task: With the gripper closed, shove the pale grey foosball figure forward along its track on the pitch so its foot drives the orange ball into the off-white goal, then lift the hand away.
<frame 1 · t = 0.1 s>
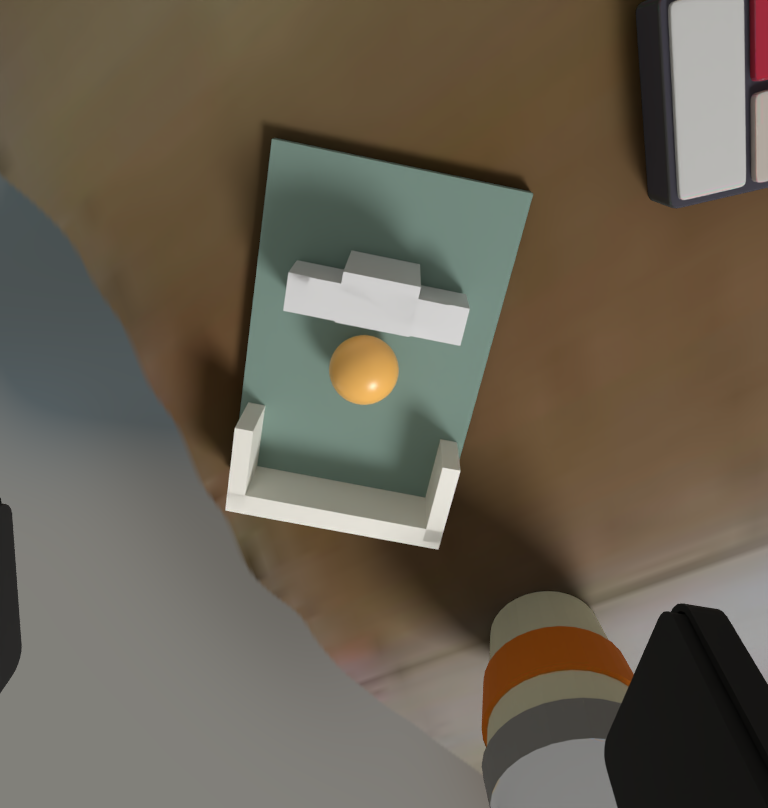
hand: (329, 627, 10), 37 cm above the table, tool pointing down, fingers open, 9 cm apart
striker: (378, 297, 41), point 4 cm above the table, slide at 0.0 cm
ball: (363, 370, 44), point 3 cm above the table, touching pitch
pitch: (368, 345, 47), on the table
reusable coffee cup: (543, 631, 57), on the table
goal: (346, 457, 51), resting on pitch
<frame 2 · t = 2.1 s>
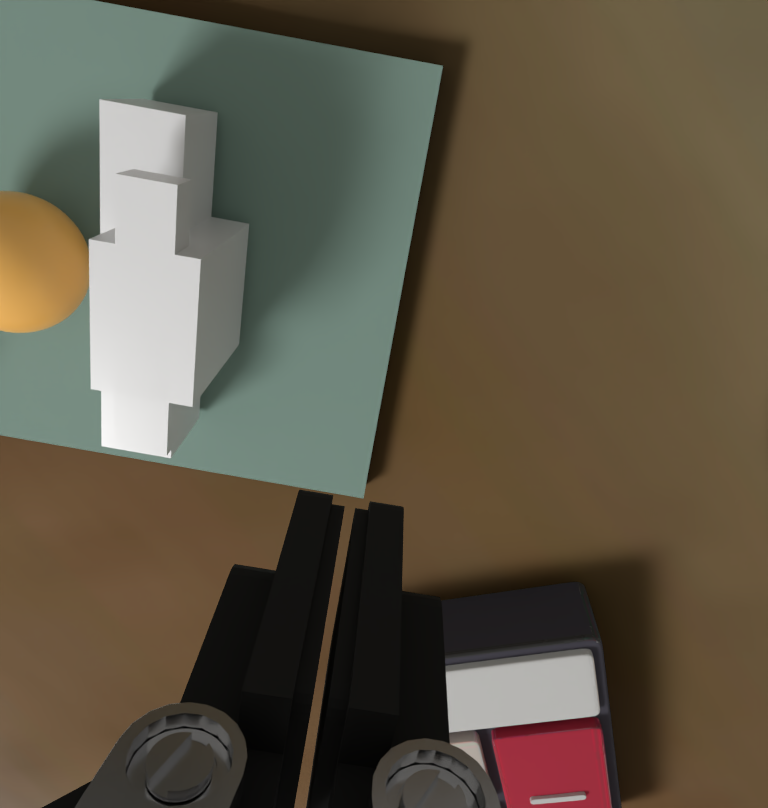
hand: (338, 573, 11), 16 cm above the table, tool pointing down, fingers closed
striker: (164, 298, 22), point 4 cm above the table, slide at 0.0 cm
ball: (16, 263, 22), point 3 cm above the table, touching pitch
pitch: (77, 245, 25), on the table
calculator: (487, 706, 34), on the table
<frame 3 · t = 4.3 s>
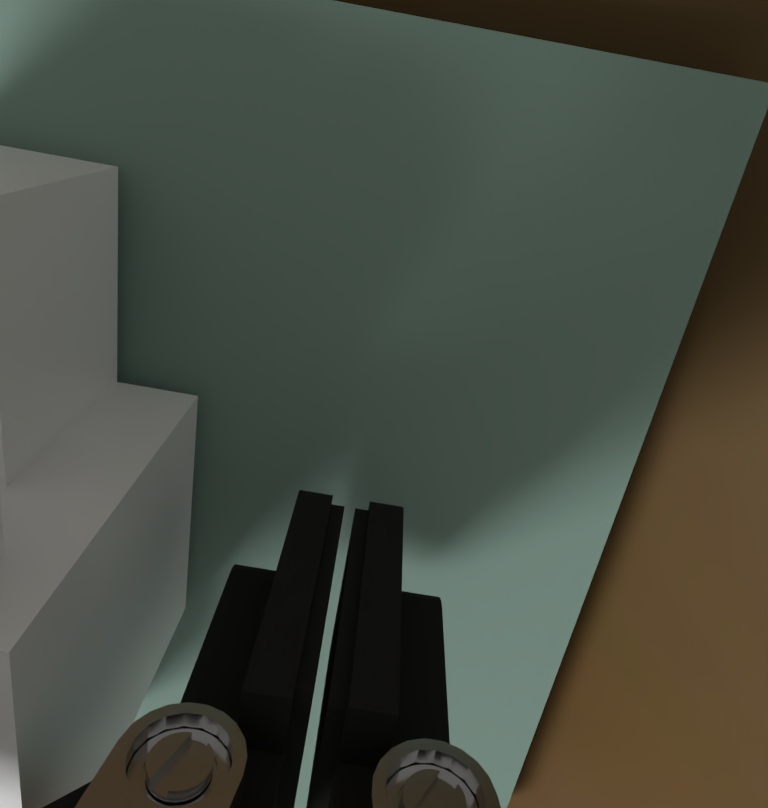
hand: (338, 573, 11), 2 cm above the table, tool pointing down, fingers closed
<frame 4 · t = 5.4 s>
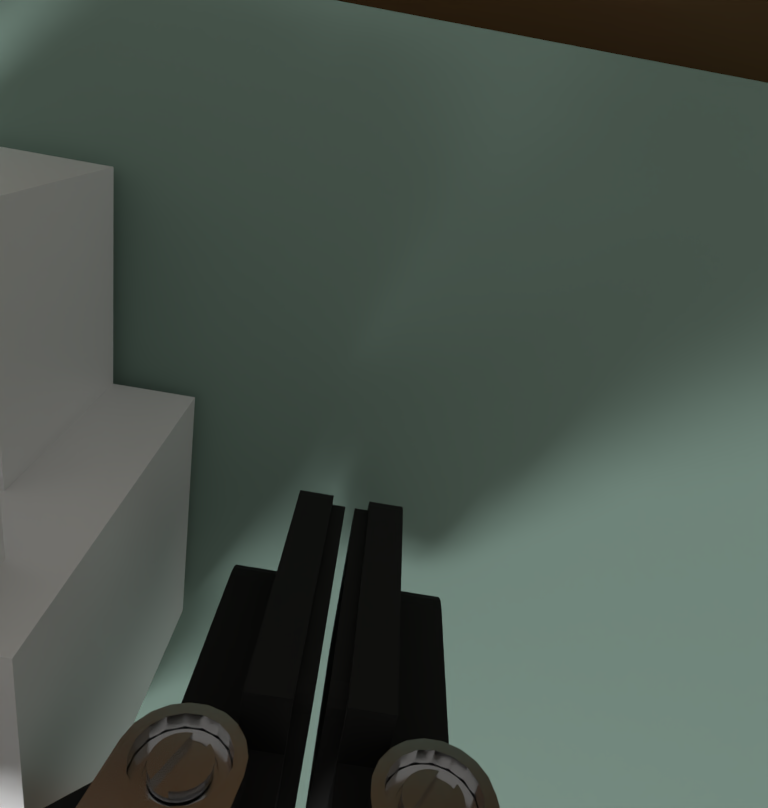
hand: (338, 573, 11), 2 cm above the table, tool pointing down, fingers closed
pitch: (308, 489, 13), on the table
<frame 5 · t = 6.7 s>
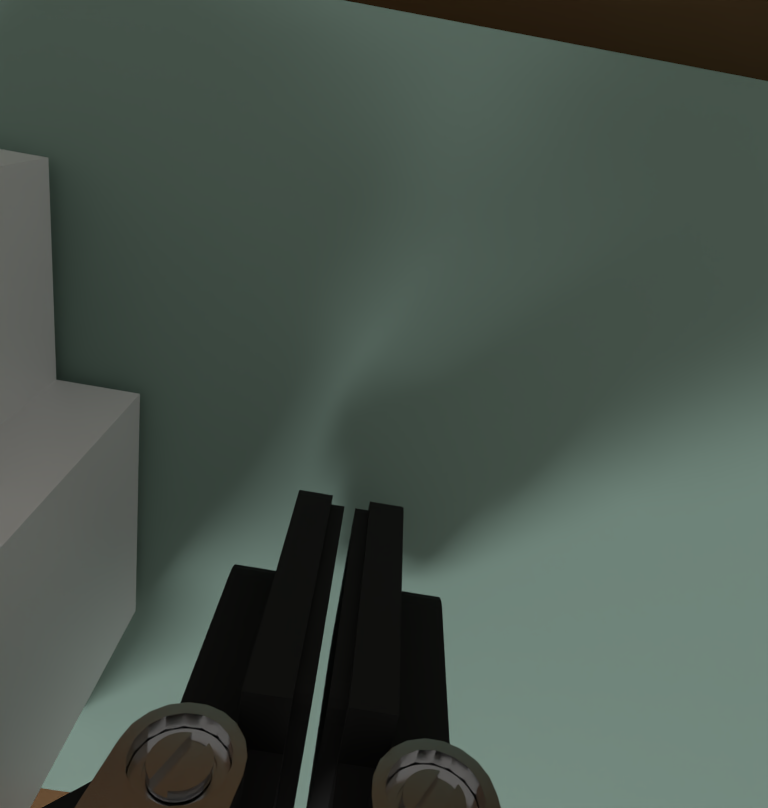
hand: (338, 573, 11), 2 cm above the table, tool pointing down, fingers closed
pitch: (244, 485, 13), on the table
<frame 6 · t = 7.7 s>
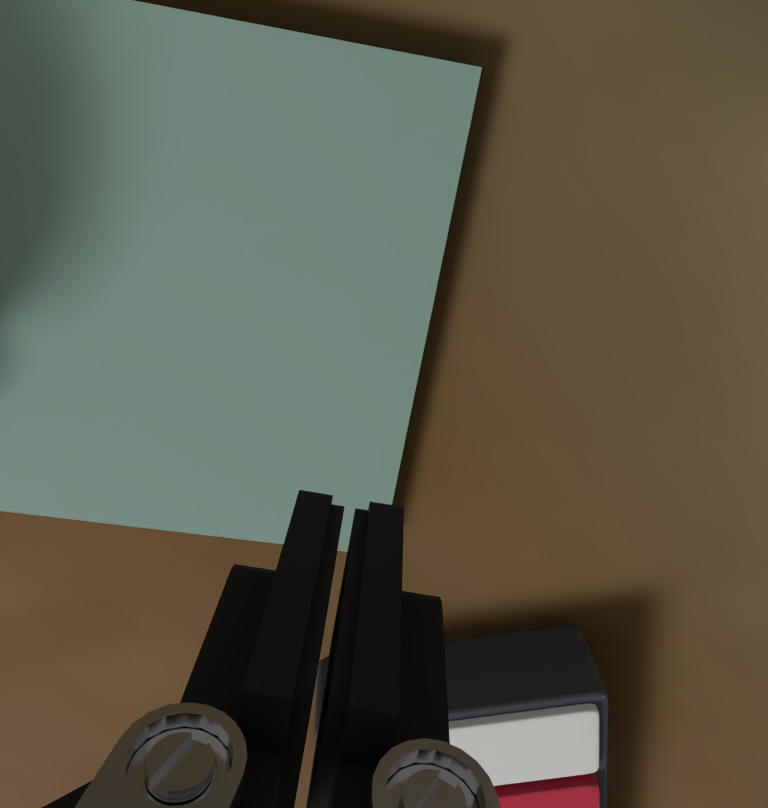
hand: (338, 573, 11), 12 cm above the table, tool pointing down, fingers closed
pitch: (38, 281, 21), on the table
calculator: (464, 753, 32), on the table
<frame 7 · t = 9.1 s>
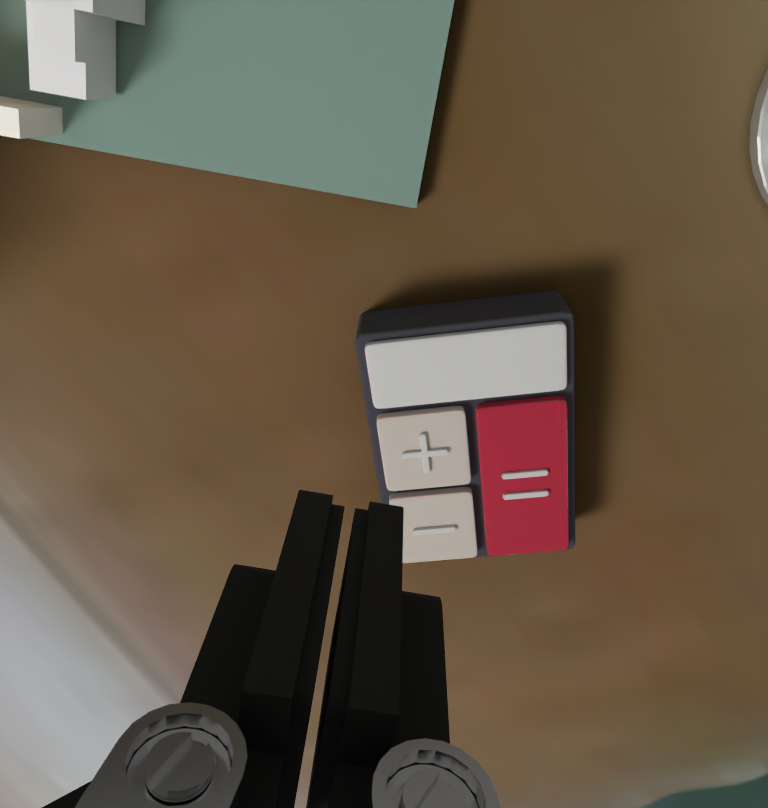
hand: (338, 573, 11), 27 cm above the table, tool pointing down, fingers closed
calculator: (468, 421, 40), on the table
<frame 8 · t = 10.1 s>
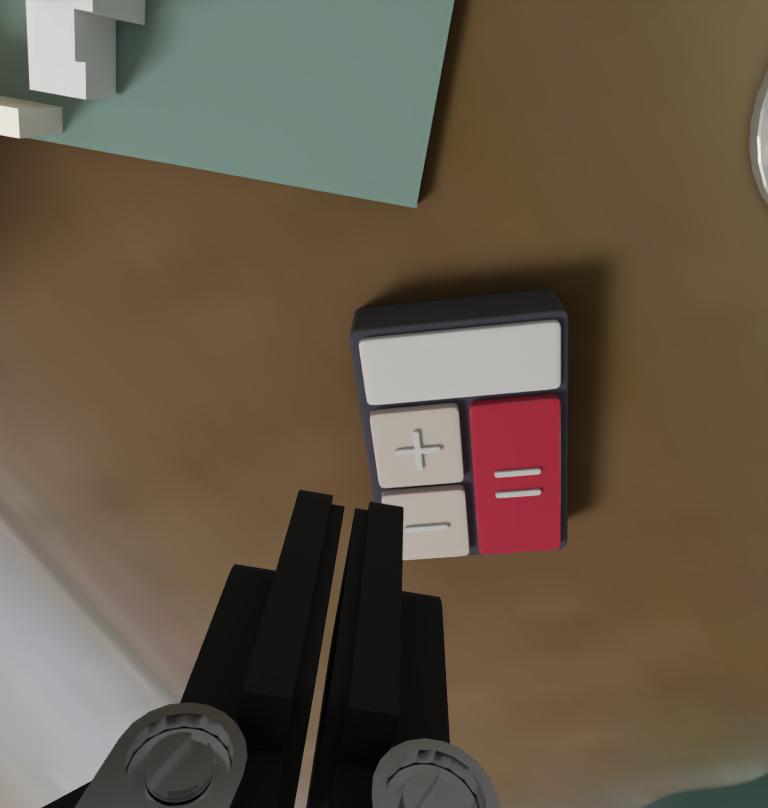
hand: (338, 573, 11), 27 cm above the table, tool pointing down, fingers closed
calculator: (462, 419, 40), on the table
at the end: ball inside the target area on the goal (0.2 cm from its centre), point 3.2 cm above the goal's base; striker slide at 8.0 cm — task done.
